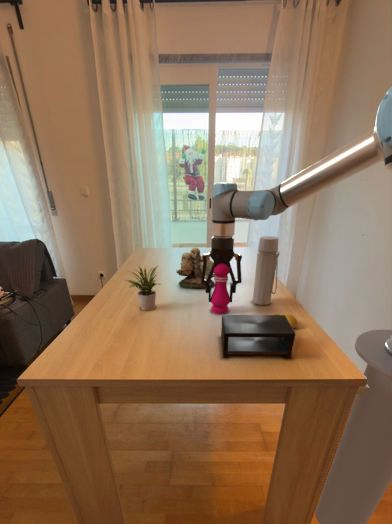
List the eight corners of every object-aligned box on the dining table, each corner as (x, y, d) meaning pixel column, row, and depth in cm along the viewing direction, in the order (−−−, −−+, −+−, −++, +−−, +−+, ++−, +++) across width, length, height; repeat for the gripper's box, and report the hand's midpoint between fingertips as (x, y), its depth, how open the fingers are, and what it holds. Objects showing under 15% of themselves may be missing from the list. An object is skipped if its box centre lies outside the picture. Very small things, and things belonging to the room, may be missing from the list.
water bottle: (248, 303, 114) (254, 238, 101) (258, 297, 120) (265, 235, 107) (269, 309, 109) (278, 241, 96) (278, 303, 115) (288, 237, 102)
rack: (280, 338, 90) (284, 314, 86) (290, 358, 79) (295, 333, 75) (221, 337, 90) (222, 314, 86) (223, 358, 80) (224, 333, 76)
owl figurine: (177, 290, 128) (175, 251, 119) (176, 282, 138) (175, 245, 130) (216, 288, 130) (217, 250, 121) (213, 280, 140) (213, 244, 131)
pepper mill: (233, 311, 108) (236, 257, 97) (219, 316, 104) (222, 261, 93) (219, 305, 112) (221, 254, 102) (206, 310, 108) (207, 257, 98)
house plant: (145, 297, 120) (141, 258, 112) (173, 303, 115) (171, 262, 106) (123, 309, 110) (117, 267, 101) (152, 316, 104) (148, 272, 96)
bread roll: (300, 329, 95) (303, 318, 93) (276, 331, 93) (277, 321, 91) (288, 318, 102) (290, 308, 100) (265, 321, 100) (266, 310, 98)
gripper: (251, 234, 97) (245, 297, 109) (193, 234, 98) (193, 297, 109) (254, 238, 91) (248, 305, 103) (192, 238, 91) (193, 304, 103)
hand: (220, 300), depth 106 cm, fingers closed on pepper mill, 7 cm apart
